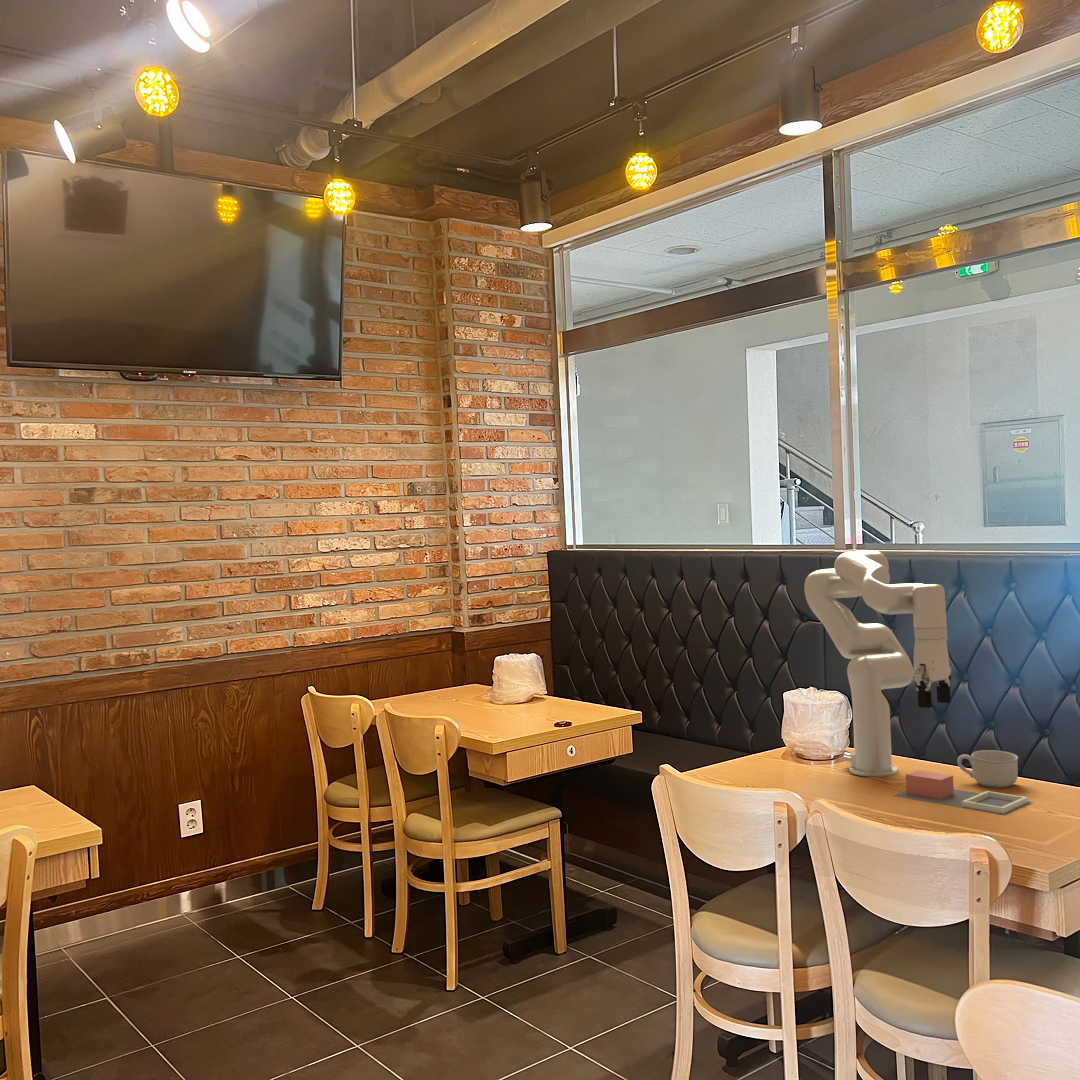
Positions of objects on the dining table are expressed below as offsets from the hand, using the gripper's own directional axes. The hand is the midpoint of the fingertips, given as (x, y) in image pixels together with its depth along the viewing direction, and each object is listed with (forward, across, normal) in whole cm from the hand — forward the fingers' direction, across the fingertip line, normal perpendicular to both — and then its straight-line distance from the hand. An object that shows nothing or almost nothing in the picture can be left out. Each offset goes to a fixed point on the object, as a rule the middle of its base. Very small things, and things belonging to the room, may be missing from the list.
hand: (934, 704), depth 251 cm
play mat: (+22, +2, +6) cm, 23 cm away
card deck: (+21, +2, -2) cm, 21 cm away
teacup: (+22, -16, +5) cm, 28 cm away
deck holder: (+22, +2, +14) cm, 26 cm away
